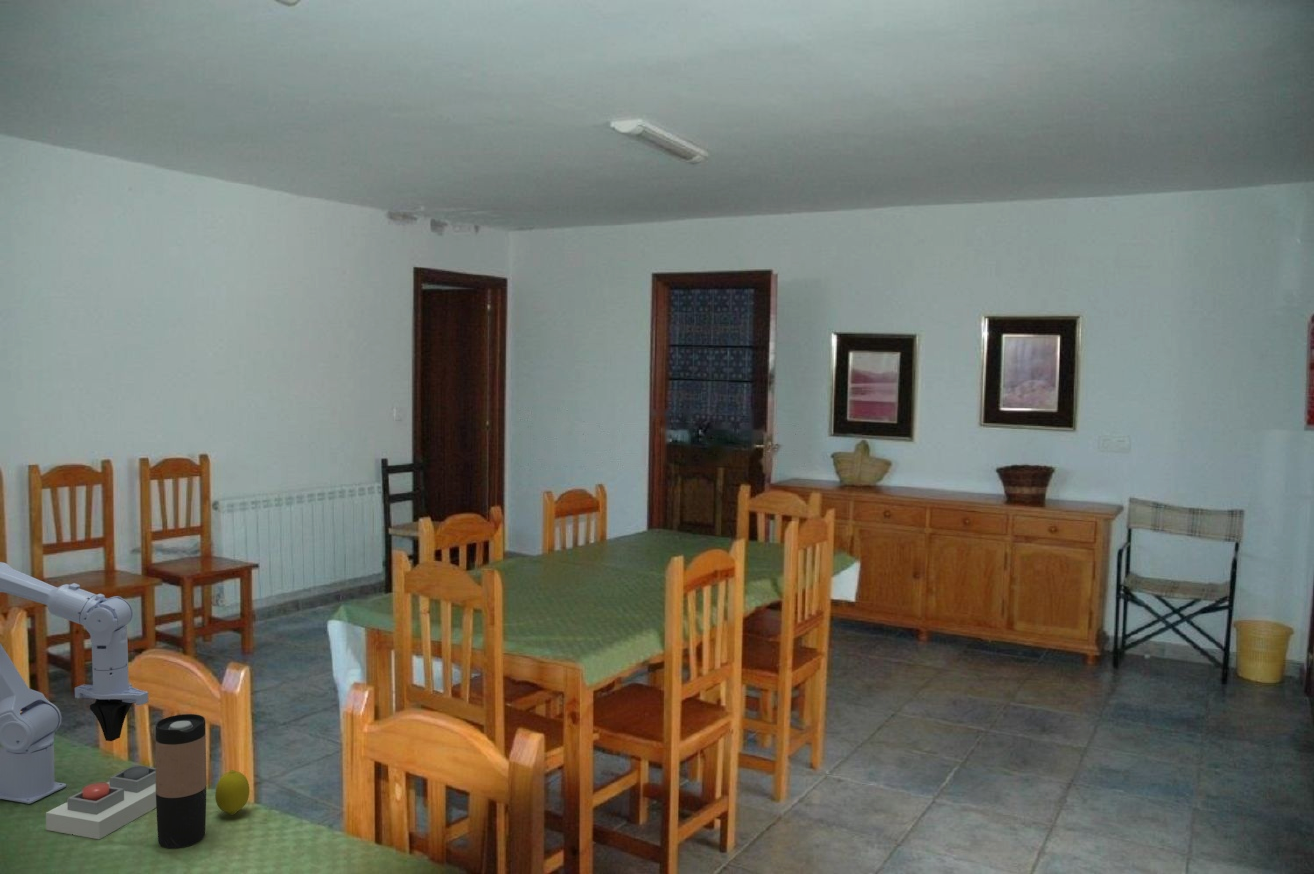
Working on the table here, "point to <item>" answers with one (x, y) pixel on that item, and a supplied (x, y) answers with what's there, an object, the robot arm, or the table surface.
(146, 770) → the grey button
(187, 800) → the travel mug
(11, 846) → the table surface
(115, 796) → the button panel
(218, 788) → the lemon
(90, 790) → the red button
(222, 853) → the table surface
